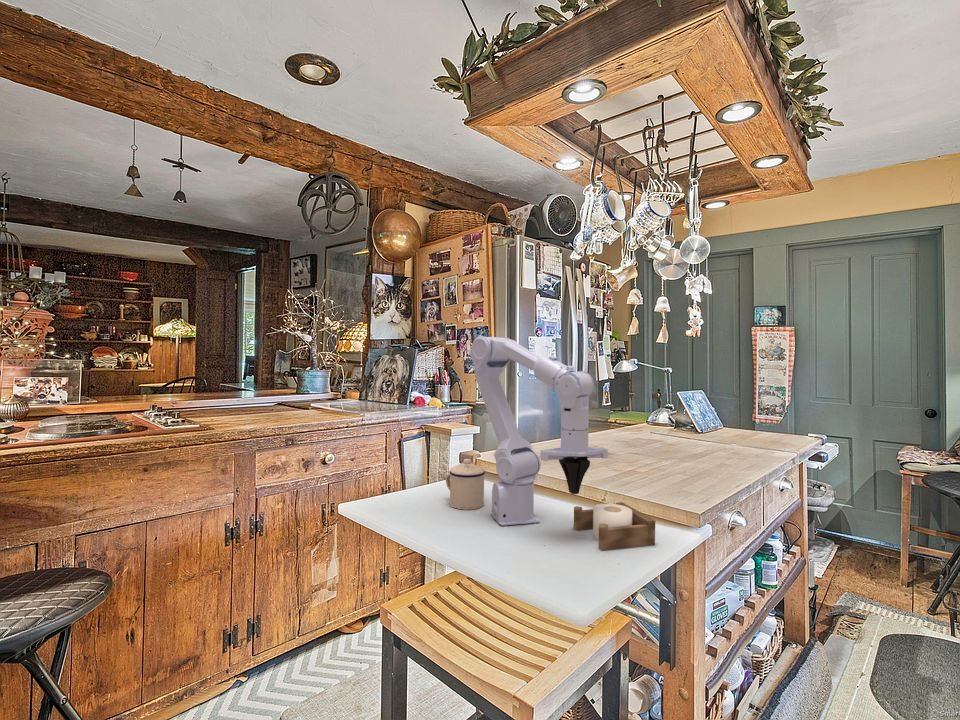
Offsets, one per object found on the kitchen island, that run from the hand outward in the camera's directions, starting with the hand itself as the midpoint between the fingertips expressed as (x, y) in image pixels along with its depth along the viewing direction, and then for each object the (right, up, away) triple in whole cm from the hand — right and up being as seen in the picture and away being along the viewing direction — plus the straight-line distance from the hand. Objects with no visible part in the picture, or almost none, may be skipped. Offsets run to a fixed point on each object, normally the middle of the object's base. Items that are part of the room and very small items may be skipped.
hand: (573, 492), depth 103 cm
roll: (+8, -10, 0) cm, 13 cm away
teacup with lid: (-24, -9, +22) cm, 34 cm away
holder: (+7, -10, 0) cm, 12 cm away
